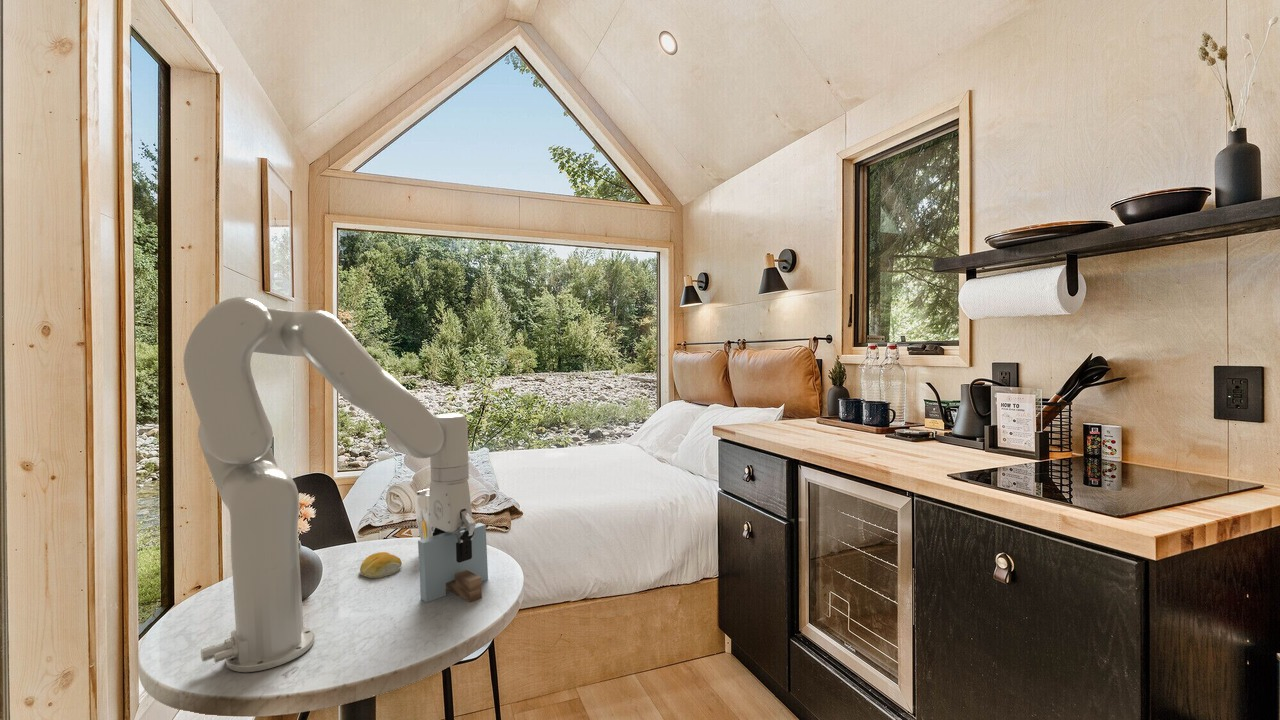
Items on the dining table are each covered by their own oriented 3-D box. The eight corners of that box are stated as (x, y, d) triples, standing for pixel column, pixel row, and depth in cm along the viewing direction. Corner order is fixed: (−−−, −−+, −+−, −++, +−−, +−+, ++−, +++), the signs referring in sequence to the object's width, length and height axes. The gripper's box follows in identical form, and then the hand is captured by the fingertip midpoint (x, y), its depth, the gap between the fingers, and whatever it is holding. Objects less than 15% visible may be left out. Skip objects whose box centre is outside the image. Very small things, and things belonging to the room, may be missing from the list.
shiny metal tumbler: (428, 559, 136) (424, 497, 136) (411, 553, 141) (408, 493, 140) (453, 550, 142) (450, 490, 141) (436, 544, 146) (434, 486, 146)
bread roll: (388, 561, 137) (387, 544, 137) (407, 570, 131) (406, 553, 131) (352, 572, 131) (351, 555, 130) (371, 582, 125) (370, 564, 125)
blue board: (426, 602, 114) (423, 543, 113) (420, 599, 115) (417, 540, 115) (488, 579, 124) (485, 524, 124) (482, 576, 126) (479, 522, 125)
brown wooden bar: (481, 597, 115) (481, 576, 115) (470, 602, 113) (469, 581, 113) (442, 576, 126) (442, 557, 126) (431, 580, 124) (430, 561, 124)
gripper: (413, 470, 122) (415, 550, 122) (454, 483, 110) (456, 570, 111) (446, 464, 127) (448, 540, 128) (488, 476, 116) (490, 559, 116)
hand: (452, 554), depth 119 cm, fingers open, 9 cm apart
